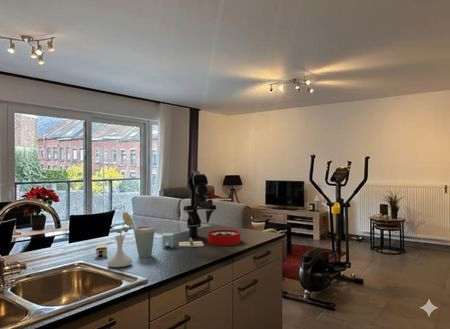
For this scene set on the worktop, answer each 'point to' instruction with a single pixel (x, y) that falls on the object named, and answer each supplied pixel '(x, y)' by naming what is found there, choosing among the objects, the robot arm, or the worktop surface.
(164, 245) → the block
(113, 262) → the flower in vase
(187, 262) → the worktop surface
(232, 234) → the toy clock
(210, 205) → the robot arm
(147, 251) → the disposable coffee cup
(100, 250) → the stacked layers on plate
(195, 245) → the cleat board
